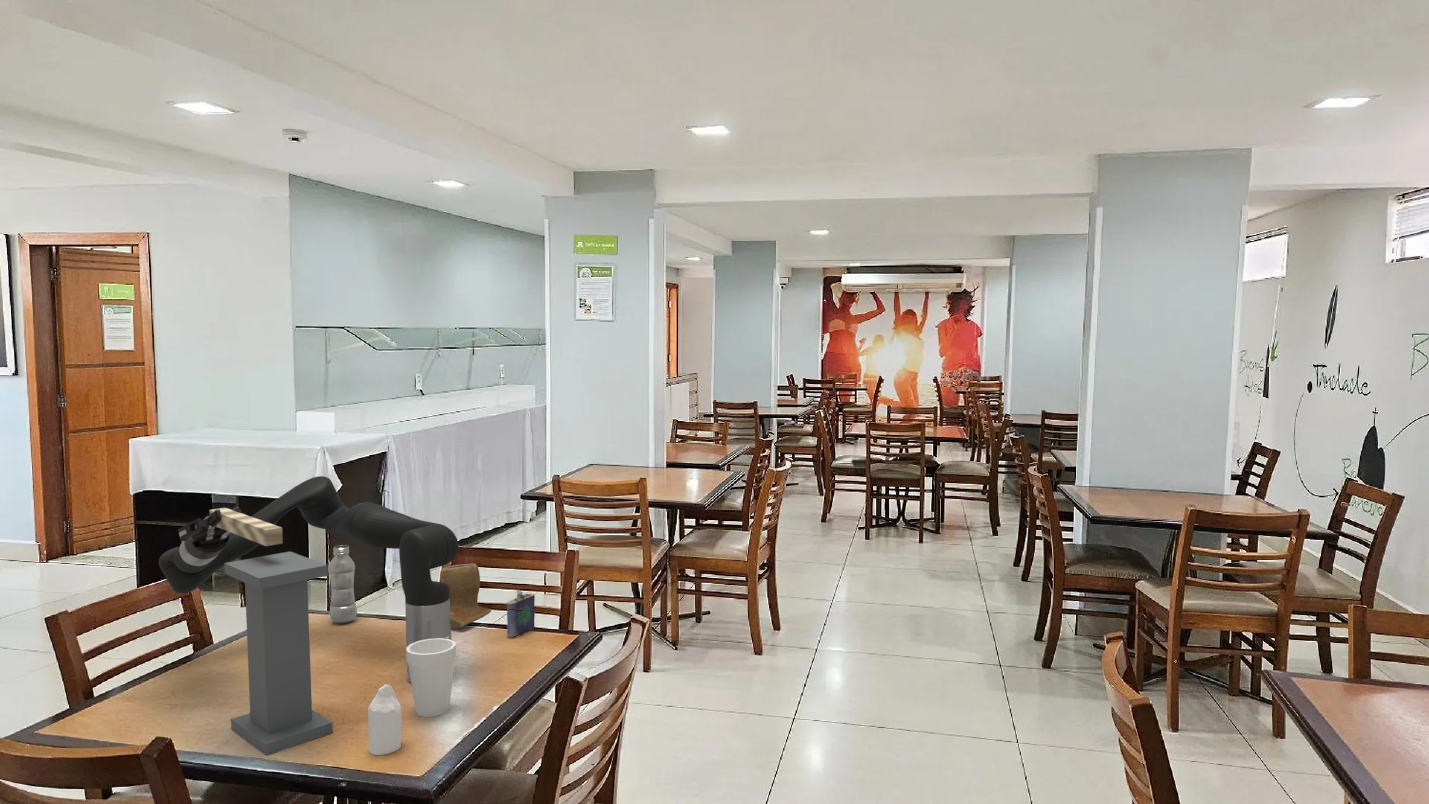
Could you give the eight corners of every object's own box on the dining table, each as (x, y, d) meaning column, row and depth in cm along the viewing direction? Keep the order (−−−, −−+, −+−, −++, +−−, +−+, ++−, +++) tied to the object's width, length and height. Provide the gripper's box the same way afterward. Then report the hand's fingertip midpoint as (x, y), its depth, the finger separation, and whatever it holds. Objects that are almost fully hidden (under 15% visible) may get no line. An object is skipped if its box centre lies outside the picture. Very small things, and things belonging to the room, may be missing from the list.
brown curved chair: (459, 611, 238) (458, 556, 237) (497, 615, 234) (496, 560, 233) (423, 628, 224) (422, 570, 223) (463, 633, 220) (461, 574, 219)
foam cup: (406, 704, 176) (404, 642, 175) (454, 697, 180) (452, 635, 179) (410, 723, 168) (408, 657, 167) (459, 715, 171) (458, 650, 170)
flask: (512, 639, 215) (511, 596, 214) (503, 637, 216) (502, 595, 216) (537, 628, 223) (536, 587, 222) (528, 627, 225) (527, 586, 224)
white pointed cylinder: (381, 675, 160) (407, 678, 159) (383, 739, 161) (409, 742, 160) (359, 688, 155) (387, 691, 153) (361, 753, 156) (388, 757, 154)
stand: (332, 732, 164) (327, 565, 162) (266, 755, 155) (259, 578, 153) (295, 709, 174) (290, 551, 172) (231, 729, 165) (224, 563, 163)
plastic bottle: (347, 626, 225) (345, 550, 223) (324, 625, 226) (321, 549, 225) (362, 619, 231) (360, 544, 230) (339, 617, 232) (337, 543, 231)
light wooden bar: (282, 543, 163) (282, 527, 163) (265, 546, 161) (265, 530, 161) (225, 521, 182) (225, 507, 181) (210, 524, 179) (209, 509, 179)
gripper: (162, 532, 183) (186, 500, 172) (234, 521, 193) (260, 490, 183) (170, 566, 181) (194, 535, 170) (242, 553, 191) (269, 524, 181)
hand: (228, 512), depth 176 cm, fingers closed on light wooden bar, 3 cm apart
